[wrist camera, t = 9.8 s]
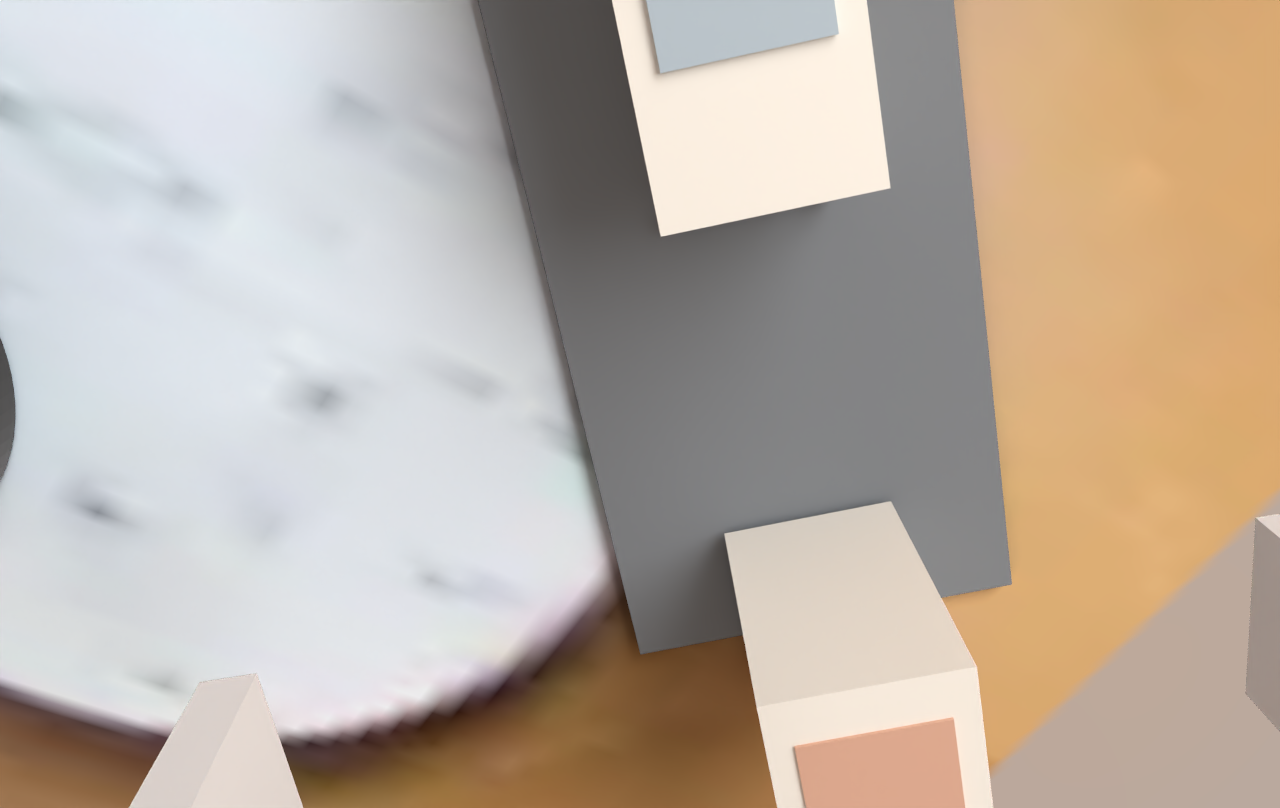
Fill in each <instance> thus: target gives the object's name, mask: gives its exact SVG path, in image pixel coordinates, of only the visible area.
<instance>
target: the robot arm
mask: <svg viewBox="0 0 1280 808" xmlns="http://www.w3.org/2000/svg"><path fill="white" fill-rule="evenodd" d="M14 426H15V399H14V389H13V383H12V377H11V372H10V368H9V364H8V360H7V356H6V353H5V350H4V347H3V344H2V341H1V339H0V480H1V478H2V476H3V473H4V471H5V468H6V466H7V463H8V459H9V456H10V452H11V448H12V442H13V437H14ZM1249 625H1250V626H1249V642H1248V659H1247V677H1246V695H1247V696H1248V697H1249V698H1250V699H1251V700H1252V701H1253V702H1254V704H1255V705H1256V706H1257V707H1258V708H1259V709H1260V710H1261V711H1262V712H1263V714H1264V715H1265V716H1266V717H1267V718H1268V719H1269V720H1270V721H1271V723H1272V724H1273V725H1274V726H1275V727H1276V728H1277V729H1278V730H1279V731H1280V514H1276V515H1270V516H1263V517H1257V518H1255V534H1254V552H1253V570H1252V587H1251V606H1250V623H1249ZM129 808H303V806H302V803H301V800H300V797H299V794H298V791H297V788H296V785H295V782H294V780H293V777H292V774H291V771H290V768H289V765H288V762H287V759H286V756H285V754H284V751H283V748H282V745H281V742H280V739H279V736H278V733H277V731H276V728H275V725H274V722H273V719H272V716H271V713H270V710H269V707H268V705H267V702H266V699H265V696H264V693H263V690H262V687H261V684H260V681H259V679H258V676H257V673H255V674H249V675H243V676H236V677H230V678H223V679H217V680H210V681H204V682H200V683H199V685H198V686H197V688H196V690H195V692H194V693H193V695H192V697H191V699H190V701H189V702H188V704H187V706H186V708H185V709H184V711H183V713H182V715H181V716H180V718H179V720H178V722H177V724H176V725H175V727H174V729H173V731H172V732H171V734H170V736H169V738H168V739H167V741H166V743H165V745H164V747H163V748H162V750H161V752H160V754H159V755H158V757H157V759H156V761H155V762H154V764H153V766H152V768H151V770H150V771H149V773H148V775H147V777H146V778H145V780H144V782H143V784H142V785H141V787H140V789H139V791H138V793H137V794H136V796H135V798H134V800H133V801H132V803H131V805H130V807H129Z"/></svg>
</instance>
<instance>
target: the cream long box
mask: <svg viewBox="0 0 1280 808" xmlns="http://www.w3.org/2000/svg"><path fill="white" fill-rule="evenodd" d="M612 3H613V8H614V13H615V17H616V22H617V27H618V32H619V37H620V42H621V47H622V51H623V56H624V61H625V66H626V71H627V76H628V80H629V85H630V90H631V95H632V100H633V105H634V109H635V114H636V119H637V124H638V129H639V134H640V139H641V143H642V148H643V153H644V158H645V163H646V168H647V172H648V177H649V182H650V187H651V192H652V197H653V201H654V206H655V211H656V216H657V221H658V226H659V231H660V235H661V237H662V236H667V235H672V234H676V233H682V232H686V231H691V230H695V229H700V228H705V227H709V226H714V225H720V224H724V223H728V222H733V221H738V220H743V219H747V218H752V217H758V216H761V215H766V214H771V213H776V212H780V211H785V210H790V209H796V208H799V207H804V206H809V205H813V204H818V203H823V202H828V201H834V200H837V199H842V198H847V197H851V196H856V195H861V194H865V193H870V192H875V191H880V190H884V189H889V188H890V180H889V172H888V164H887V156H886V148H885V140H884V133H883V125H882V117H881V109H880V101H879V93H878V85H877V77H876V69H875V62H874V54H873V46H872V38H871V30H870V22H869V14H868V6H867V0H612Z"/></svg>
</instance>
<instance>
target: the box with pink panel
mask: <svg viewBox="0 0 1280 808" xmlns="http://www.w3.org/2000/svg"><path fill="white" fill-rule="evenodd" d="M724 535H725V541H726V546H727V552H728V557H729V562H730V568H731V573H732V578H733V584H734V589H735V594H736V600H737V605H738V610H739V616H740V621H741V626H742V632H743V637H744V642H745V648H746V653H747V659H748V664H749V669H750V675H751V680H752V685H753V691H754V696H755V701H756V707H757V712H758V716H759V721H760V726H761V731H762V736H763V741H764V745H765V750H766V755H767V760H768V765H769V770H770V774H771V779H772V784H773V789H774V794H775V799H776V803H777V808H993V802H992V793H991V784H990V775H989V767H988V758H987V750H986V741H985V733H984V724H983V715H982V707H981V698H980V690H979V681H978V673H977V666H976V664H975V662H974V660H973V658H972V656H971V654H970V652H969V651H968V649H967V647H966V645H965V643H964V641H963V639H962V637H961V635H960V633H959V631H958V629H957V627H956V626H955V624H954V622H953V620H952V618H951V616H950V614H949V612H948V610H947V608H946V606H945V604H944V602H943V601H942V599H941V597H940V595H939V593H938V591H937V589H936V587H935V585H934V583H933V581H932V579H931V577H930V575H929V574H928V572H927V570H926V568H925V566H924V564H923V562H922V560H921V558H920V556H919V554H918V552H917V550H916V549H915V547H914V545H913V543H912V541H911V539H910V537H909V535H908V533H907V531H906V529H905V527H904V525H903V524H902V522H901V520H900V518H899V516H898V514H897V512H896V510H895V508H894V506H893V504H892V502H891V501H889V502H884V503H879V504H874V505H868V506H863V507H858V508H853V509H848V510H843V511H838V512H832V513H827V514H822V515H817V516H812V517H807V518H801V519H796V520H791V521H786V522H781V523H776V524H771V525H765V526H760V527H755V528H750V529H745V530H740V531H735V532H729V533H724Z"/></svg>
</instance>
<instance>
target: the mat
mask: <svg viewBox="0 0 1280 808" xmlns="http://www.w3.org/2000/svg"><path fill="white" fill-rule="evenodd" d="M478 2H479V6H480V10H481V14H482V18H483V23H484V27H485V31H486V35H487V39H488V43H489V47H490V51H491V55H492V59H493V63H494V67H495V71H496V75H497V79H498V83H499V87H500V91H501V95H502V99H503V103H504V107H505V111H506V115H507V119H508V123H509V127H510V131H511V135H512V139H513V143H514V147H515V151H516V155H517V159H518V163H519V167H520V171H521V175H522V180H523V184H524V188H525V192H526V196H527V200H528V204H529V208H530V212H531V216H532V220H533V224H534V228H535V232H536V236H537V240H538V244H539V248H540V252H541V256H542V260H543V264H544V268H545V272H546V276H547V280H548V284H549V288H550V292H551V296H552V300H553V304H554V308H555V312H556V316H557V320H558V324H559V328H560V332H561V337H562V341H563V345H564V349H565V353H566V357H567V361H568V365H569V369H570V373H571V377H572V381H573V385H574V389H575V393H576V397H577V401H578V405H579V409H580V413H581V417H582V421H583V425H584V429H585V433H586V437H587V441H588V445H589V449H590V453H591V457H592V461H593V465H594V469H595V473H596V477H597V481H598V485H599V489H600V494H601V498H602V502H603V506H604V510H605V514H606V518H607V522H608V526H609V530H610V534H611V538H612V542H613V546H614V550H615V554H616V558H617V562H618V566H619V570H620V574H621V578H622V582H623V586H624V590H625V594H626V598H627V602H628V606H629V610H630V614H631V618H632V622H633V626H634V630H635V634H636V638H637V642H638V646H639V651H640V654H645V653H651V652H656V651H661V650H667V649H672V648H677V647H683V646H688V645H693V644H698V643H704V642H709V641H714V640H720V639H725V638H730V637H736V636H741V635H743V632H742V626H741V621H740V616H739V610H738V605H737V600H736V594H735V589H734V584H733V578H732V573H731V568H730V562H729V557H728V552H727V546H726V541H725V535H724V533H729V532H735V531H740V530H745V529H750V528H755V527H760V526H765V525H771V524H776V523H781V522H786V521H791V520H796V519H801V518H807V517H812V516H817V515H822V514H827V513H832V512H838V511H843V510H848V509H853V508H858V507H863V506H868V505H874V504H879V503H884V502H889V501H891V502H892V504H893V506H894V508H895V510H896V512H897V514H898V516H899V518H900V520H901V522H902V524H903V525H904V527H905V529H906V531H907V533H908V535H909V537H910V539H911V541H912V543H913V545H914V547H915V549H916V550H917V552H918V554H919V556H920V558H921V560H922V562H923V564H924V566H925V568H926V570H927V572H928V574H929V575H930V577H931V579H932V581H933V583H934V585H935V587H936V589H937V591H938V593H939V595H940V597H941V598H942V597H948V596H953V595H958V594H964V593H969V592H974V591H980V590H985V589H990V588H996V587H1001V586H1006V585H1011V584H1012V581H1011V571H1010V561H1009V551H1008V541H1007V531H1006V521H1005V511H1004V501H1003V491H1002V481H1001V471H1000V461H999V451H998V441H997V431H996V421H995V411H994V400H993V390H992V380H991V370H990V360H989V350H988V340H987V330H986V320H985V310H984V300H983V290H982V280H981V270H980V260H979V250H978V240H977V230H976V220H975V210H974V200H973V190H972V180H971V170H970V160H969V150H968V140H967V129H966V119H965V109H964V99H963V89H962V79H961V69H960V59H959V49H958V39H957V29H956V19H955V9H954V0H867V6H868V14H869V22H870V30H871V38H872V46H873V54H874V62H875V69H876V77H877V85H878V93H879V101H880V109H881V117H882V125H883V133H884V140H885V148H886V156H887V164H888V172H889V180H890V188H889V189H884V190H880V191H875V192H870V193H865V194H861V195H856V196H851V197H847V198H842V199H837V200H834V201H828V202H823V203H818V204H813V205H809V206H804V207H799V208H796V209H790V210H785V211H780V212H776V213H771V214H766V215H761V216H758V217H752V218H747V219H743V220H738V221H733V222H728V223H724V224H720V225H714V226H709V227H705V228H700V229H695V230H691V231H686V232H682V233H676V234H672V235H667V236H662V237H661V235H660V231H659V226H658V221H657V216H656V211H655V206H654V201H653V197H652V192H651V187H650V182H649V177H648V172H647V168H646V163H645V158H644V153H643V148H642V143H641V139H640V134H639V129H638V124H637V119H636V114H635V109H634V105H633V100H632V95H631V90H630V85H629V80H628V76H627V71H626V66H625V61H624V56H623V51H622V47H621V42H620V37H619V32H618V27H617V22H616V17H615V13H614V8H613V3H612V0H478Z"/></svg>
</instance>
